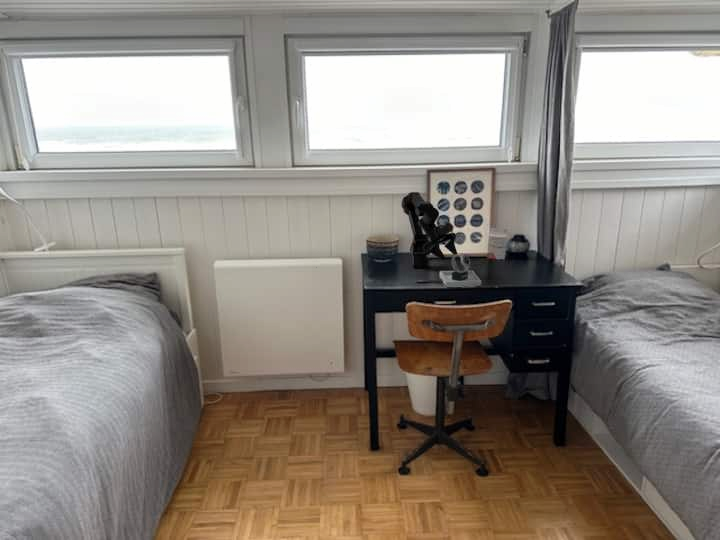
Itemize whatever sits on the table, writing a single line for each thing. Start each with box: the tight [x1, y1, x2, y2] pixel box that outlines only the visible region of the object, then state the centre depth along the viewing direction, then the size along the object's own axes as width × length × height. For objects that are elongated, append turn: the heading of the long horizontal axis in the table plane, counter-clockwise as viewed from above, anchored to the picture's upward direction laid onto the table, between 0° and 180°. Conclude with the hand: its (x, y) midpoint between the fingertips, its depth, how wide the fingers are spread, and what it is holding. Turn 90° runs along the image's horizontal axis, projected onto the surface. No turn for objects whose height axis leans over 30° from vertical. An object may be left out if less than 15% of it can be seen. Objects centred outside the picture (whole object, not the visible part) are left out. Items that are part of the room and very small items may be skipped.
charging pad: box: [415, 270, 482, 286], centre depth 209 cm, size 26×15×3 cm, turn 91°
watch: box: [451, 253, 471, 281], centre depth 208 cm, size 6×8×11 cm
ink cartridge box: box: [486, 227, 508, 261], centre depth 241 cm, size 9×5×15 cm, turn 71°
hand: (451, 257), depth 210 cm, fingers open, 9 cm apart
